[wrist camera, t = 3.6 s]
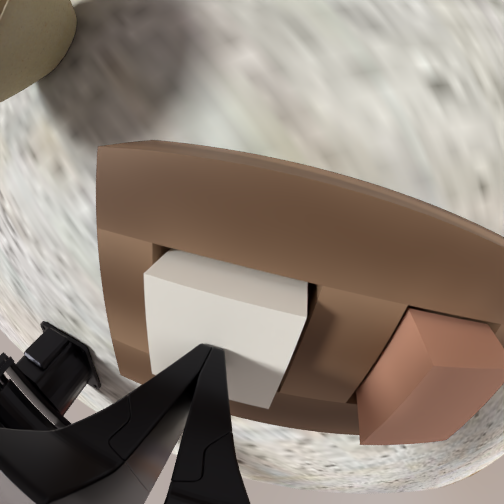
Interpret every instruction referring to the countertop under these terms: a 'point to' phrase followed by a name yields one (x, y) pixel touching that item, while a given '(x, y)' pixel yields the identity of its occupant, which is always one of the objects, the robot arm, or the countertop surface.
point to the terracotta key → (429, 380)
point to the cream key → (225, 319)
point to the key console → (291, 261)
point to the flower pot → (32, 41)
